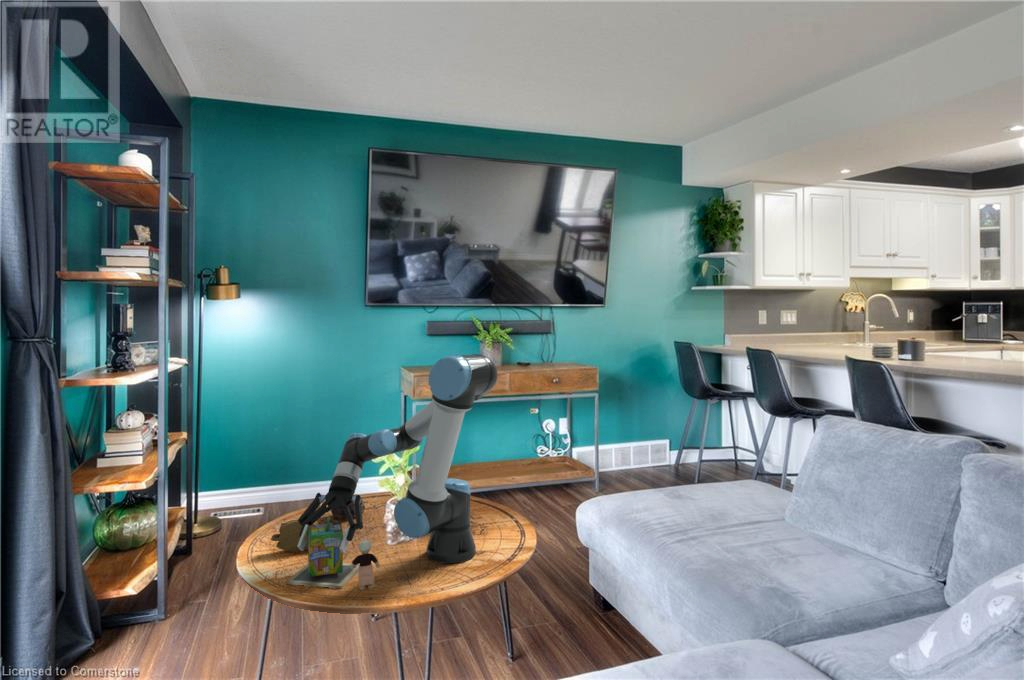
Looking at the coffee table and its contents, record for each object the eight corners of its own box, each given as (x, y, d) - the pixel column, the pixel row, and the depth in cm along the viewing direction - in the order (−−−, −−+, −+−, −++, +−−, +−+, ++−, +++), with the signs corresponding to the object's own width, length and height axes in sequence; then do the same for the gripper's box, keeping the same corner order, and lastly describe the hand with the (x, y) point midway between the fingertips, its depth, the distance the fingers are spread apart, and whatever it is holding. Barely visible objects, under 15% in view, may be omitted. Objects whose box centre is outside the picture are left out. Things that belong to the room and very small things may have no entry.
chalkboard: (362, 567, 168) (362, 564, 168) (341, 588, 154) (341, 585, 154) (311, 563, 171) (311, 561, 171) (285, 584, 157) (285, 581, 157)
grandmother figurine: (377, 581, 159) (377, 536, 159) (380, 587, 155) (380, 540, 155) (348, 587, 155) (348, 540, 155) (352, 593, 152) (352, 545, 152)
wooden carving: (326, 544, 186) (326, 514, 185) (326, 550, 181) (326, 518, 181) (271, 551, 180) (271, 519, 180) (270, 556, 176) (270, 524, 176)
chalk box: (308, 564, 165) (307, 513, 165) (341, 560, 168) (341, 510, 168) (308, 578, 157) (308, 524, 156) (343, 573, 160) (343, 520, 159)
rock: (337, 516, 217) (327, 525, 207) (334, 494, 217) (323, 501, 207) (367, 512, 216) (358, 520, 206) (364, 490, 216) (355, 497, 206)
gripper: (386, 488, 175) (366, 558, 161) (312, 485, 179) (286, 553, 164) (379, 475, 170) (358, 546, 155) (303, 472, 174) (275, 541, 159)
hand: (321, 550), depth 160 cm, fingers closed on chalk box, 12 cm apart
